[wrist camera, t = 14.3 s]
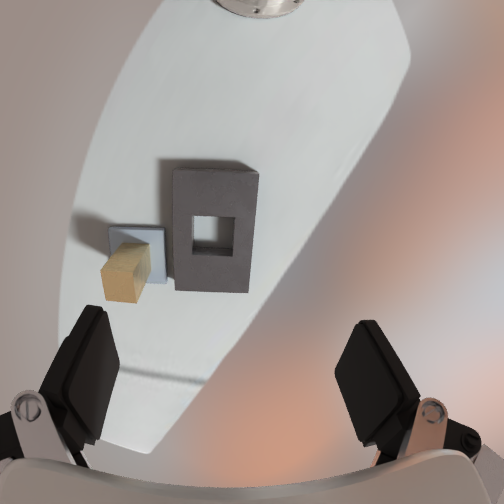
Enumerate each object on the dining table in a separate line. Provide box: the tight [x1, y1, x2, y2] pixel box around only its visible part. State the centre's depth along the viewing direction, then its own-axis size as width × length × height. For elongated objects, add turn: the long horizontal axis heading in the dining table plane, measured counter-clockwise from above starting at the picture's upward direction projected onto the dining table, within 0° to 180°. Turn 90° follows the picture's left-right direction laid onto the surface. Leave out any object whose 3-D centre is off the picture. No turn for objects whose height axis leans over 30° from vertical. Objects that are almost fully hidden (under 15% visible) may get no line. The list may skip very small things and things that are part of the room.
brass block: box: [100, 243, 151, 303], centre depth 32 cm, size 4×4×8 cm
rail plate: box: [172, 168, 259, 293], centre depth 35 cm, size 16×10×2 cm, turn 175°
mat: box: [108, 227, 167, 284], centre depth 36 cm, size 8×8×1 cm
